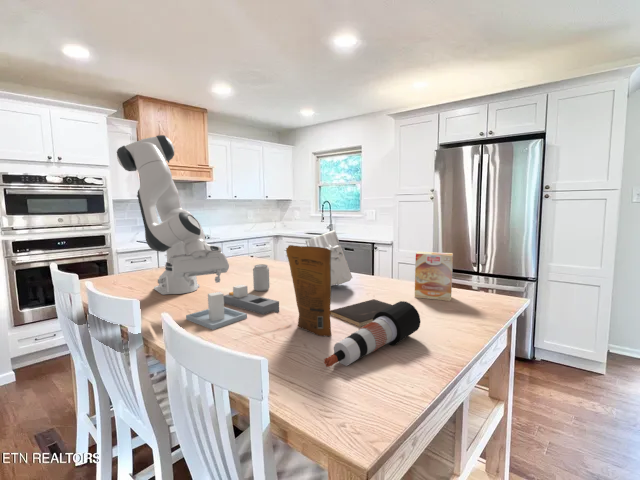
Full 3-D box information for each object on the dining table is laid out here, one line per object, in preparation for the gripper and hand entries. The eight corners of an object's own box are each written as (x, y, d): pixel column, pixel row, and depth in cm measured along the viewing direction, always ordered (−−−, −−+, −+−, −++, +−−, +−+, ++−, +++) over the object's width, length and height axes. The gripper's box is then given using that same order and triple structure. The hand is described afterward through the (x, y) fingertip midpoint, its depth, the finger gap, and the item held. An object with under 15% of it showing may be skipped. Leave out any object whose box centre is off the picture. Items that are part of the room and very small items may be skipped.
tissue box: (355, 285, 158) (336, 232, 156) (321, 297, 159) (302, 245, 156) (351, 275, 179) (335, 229, 177) (322, 286, 180) (305, 240, 177)
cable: (323, 384, 86) (308, 346, 88) (401, 335, 108) (387, 305, 110) (347, 381, 79) (330, 339, 81) (426, 329, 101) (411, 297, 103)
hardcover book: (403, 314, 127) (403, 308, 127) (359, 328, 114) (359, 321, 113) (372, 304, 140) (372, 298, 140) (329, 315, 126) (329, 309, 126)
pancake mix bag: (324, 341, 102) (323, 249, 99) (285, 325, 116) (284, 243, 113) (339, 335, 106) (339, 247, 103) (301, 320, 120) (299, 242, 117)
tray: (186, 322, 119) (185, 315, 119) (220, 311, 130) (219, 305, 130) (213, 332, 109) (212, 325, 109) (247, 320, 120) (246, 313, 120)
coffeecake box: (414, 297, 147) (415, 253, 145) (416, 293, 154) (417, 251, 151) (451, 301, 141) (452, 255, 139) (451, 296, 148) (453, 252, 146)
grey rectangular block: (208, 318, 120) (207, 293, 119) (221, 316, 122) (220, 291, 121) (212, 321, 117) (210, 296, 116) (224, 318, 120) (223, 293, 118)
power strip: (223, 305, 139) (222, 286, 138) (239, 300, 145) (238, 282, 144) (263, 317, 124) (263, 295, 123) (279, 311, 130) (278, 291, 129)
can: (266, 292, 158) (265, 266, 157) (251, 291, 160) (250, 266, 158) (271, 288, 165) (271, 263, 164) (257, 287, 167) (256, 263, 166)
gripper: (169, 250, 123) (175, 282, 116) (224, 246, 135) (233, 275, 128) (167, 261, 128) (174, 292, 120) (221, 256, 139) (230, 284, 132)
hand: (205, 283), depth 124 cm, fingers open, 8 cm apart
